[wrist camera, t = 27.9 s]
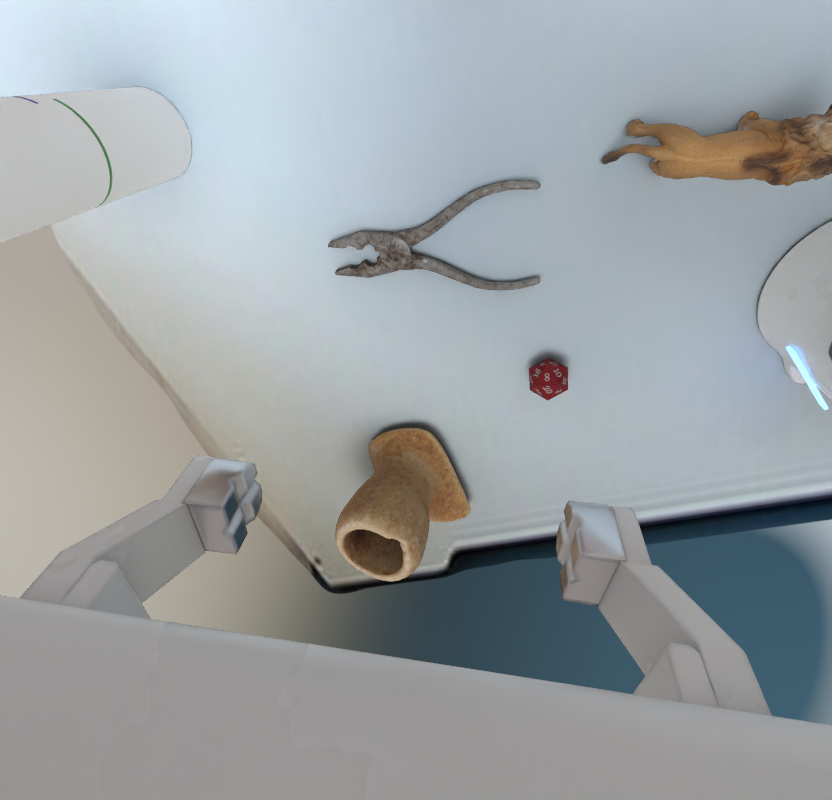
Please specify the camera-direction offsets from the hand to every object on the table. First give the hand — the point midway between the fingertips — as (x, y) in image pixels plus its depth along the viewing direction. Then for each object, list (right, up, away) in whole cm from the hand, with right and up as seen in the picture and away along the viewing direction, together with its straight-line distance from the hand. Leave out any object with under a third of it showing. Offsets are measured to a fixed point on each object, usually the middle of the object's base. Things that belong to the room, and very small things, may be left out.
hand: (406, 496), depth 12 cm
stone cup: (0, -6, +49) cm, 49 cm away
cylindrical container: (-23, +26, +29) cm, 45 cm away
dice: (+14, +6, +37) cm, 40 cm away
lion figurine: (+23, +23, +24) cm, 40 cm away
